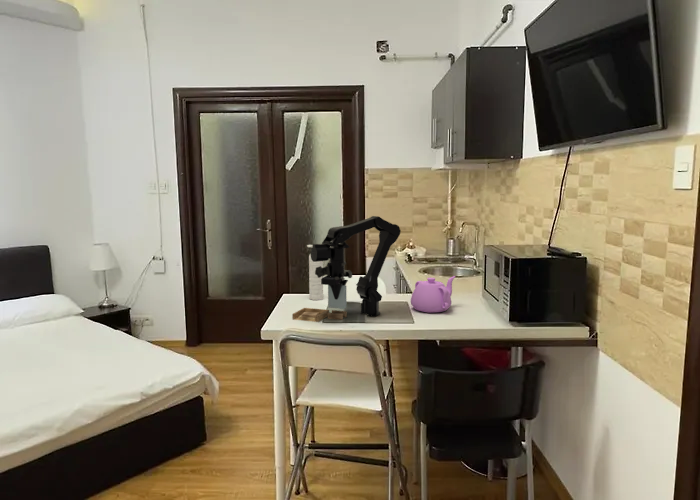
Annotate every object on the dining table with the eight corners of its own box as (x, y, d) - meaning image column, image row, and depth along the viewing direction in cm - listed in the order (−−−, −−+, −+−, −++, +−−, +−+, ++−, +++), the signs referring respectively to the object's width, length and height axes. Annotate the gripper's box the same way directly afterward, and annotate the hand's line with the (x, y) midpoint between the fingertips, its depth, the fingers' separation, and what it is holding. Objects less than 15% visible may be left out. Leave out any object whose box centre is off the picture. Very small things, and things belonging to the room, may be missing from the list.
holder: (346, 318, 209) (346, 311, 208) (341, 321, 204) (341, 314, 203) (332, 317, 211) (332, 310, 210) (327, 320, 206) (327, 313, 205)
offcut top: (319, 315, 207) (319, 312, 207) (316, 317, 203) (316, 315, 203) (304, 314, 209) (304, 311, 208) (301, 316, 204) (301, 314, 204)
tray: (329, 317, 211) (329, 309, 211) (318, 323, 201) (318, 316, 200) (304, 314, 215) (304, 307, 214) (292, 321, 205) (292, 313, 204)
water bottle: (326, 298, 244) (325, 245, 241) (315, 301, 240) (314, 247, 237) (314, 295, 251) (313, 244, 247) (303, 298, 246) (302, 245, 243)
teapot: (471, 311, 221) (472, 279, 219) (431, 317, 210) (432, 284, 208) (437, 301, 240) (438, 271, 238) (399, 306, 229) (399, 275, 227)
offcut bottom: (320, 317, 208) (320, 314, 207) (315, 320, 203) (315, 318, 203) (304, 315, 210) (304, 313, 210) (298, 318, 205) (298, 316, 205)
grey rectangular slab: (346, 307, 206) (346, 285, 205) (344, 309, 205) (344, 286, 203) (330, 306, 209) (329, 284, 208) (328, 307, 207) (328, 285, 206)
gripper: (327, 255, 216) (327, 292, 218) (308, 262, 198) (308, 302, 200) (352, 256, 212) (352, 294, 214) (335, 263, 194) (335, 304, 196)
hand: (337, 298), depth 206 cm, fingers closed on grey rectangular slab, 2 cm apart
